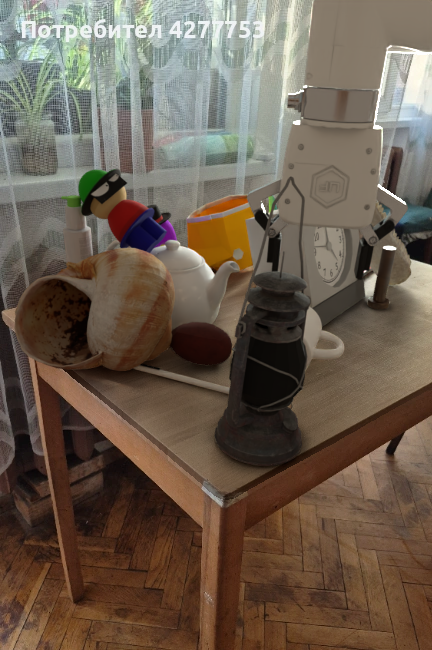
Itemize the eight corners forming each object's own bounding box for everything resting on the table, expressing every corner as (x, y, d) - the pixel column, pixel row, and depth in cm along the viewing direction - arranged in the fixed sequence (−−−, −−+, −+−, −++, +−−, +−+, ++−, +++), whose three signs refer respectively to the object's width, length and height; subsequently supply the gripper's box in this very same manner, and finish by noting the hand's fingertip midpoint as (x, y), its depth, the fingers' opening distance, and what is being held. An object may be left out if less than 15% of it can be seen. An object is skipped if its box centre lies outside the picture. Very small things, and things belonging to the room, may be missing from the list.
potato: (222, 379, 78) (224, 340, 74) (158, 365, 80) (157, 327, 77) (238, 357, 83) (241, 320, 80) (178, 344, 86) (178, 309, 83)
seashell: (51, 217, 79) (101, 277, 92) (-13, 340, 72) (50, 385, 85) (175, 229, 70) (211, 292, 83) (115, 369, 64) (163, 414, 77)
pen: (126, 364, 80) (126, 358, 80) (246, 396, 74) (246, 389, 73) (123, 367, 80) (122, 360, 79) (243, 399, 73) (244, 392, 73)
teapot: (202, 293, 105) (204, 222, 98) (238, 333, 91) (243, 253, 84) (106, 303, 100) (101, 228, 93) (128, 347, 85) (123, 263, 78)
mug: (253, 373, 80) (258, 323, 76) (269, 344, 88) (274, 298, 84) (335, 388, 77) (344, 338, 73) (344, 357, 85) (352, 310, 81)
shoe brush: (329, 188, 105) (325, 202, 102) (364, 170, 101) (361, 183, 98) (384, 278, 117) (383, 292, 114) (418, 265, 112) (417, 280, 109)
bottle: (81, 307, 98) (69, 192, 87) (102, 311, 96) (93, 195, 86) (67, 316, 94) (53, 197, 84) (89, 321, 93) (77, 201, 82)
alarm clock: (315, 331, 92) (332, 209, 82) (240, 306, 100) (247, 193, 90) (365, 297, 107) (385, 189, 96) (295, 278, 114) (307, 177, 104)
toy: (173, 230, 90) (104, 170, 89) (177, 210, 82) (101, 143, 81) (138, 269, 89) (67, 209, 88) (138, 253, 80) (59, 185, 79)
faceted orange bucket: (163, 236, 103) (188, 311, 111) (283, 190, 107) (299, 266, 115) (148, 224, 115) (171, 293, 123) (257, 183, 119) (273, 252, 127)
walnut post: (387, 302, 105) (399, 245, 99) (389, 310, 102) (402, 252, 96) (366, 300, 105) (376, 243, 100) (367, 308, 102) (379, 250, 96)
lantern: (261, 482, 58) (303, 193, 43) (190, 439, 64) (206, 171, 49) (322, 437, 67) (376, 181, 52) (255, 402, 73) (285, 164, 58)
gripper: (249, 107, 52) (239, 276, 61) (434, 117, 50) (396, 290, 59) (256, 102, 59) (246, 256, 67) (420, 110, 57) (387, 268, 66)
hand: (316, 272), depth 63 cm, fingers open, 9 cm apart
